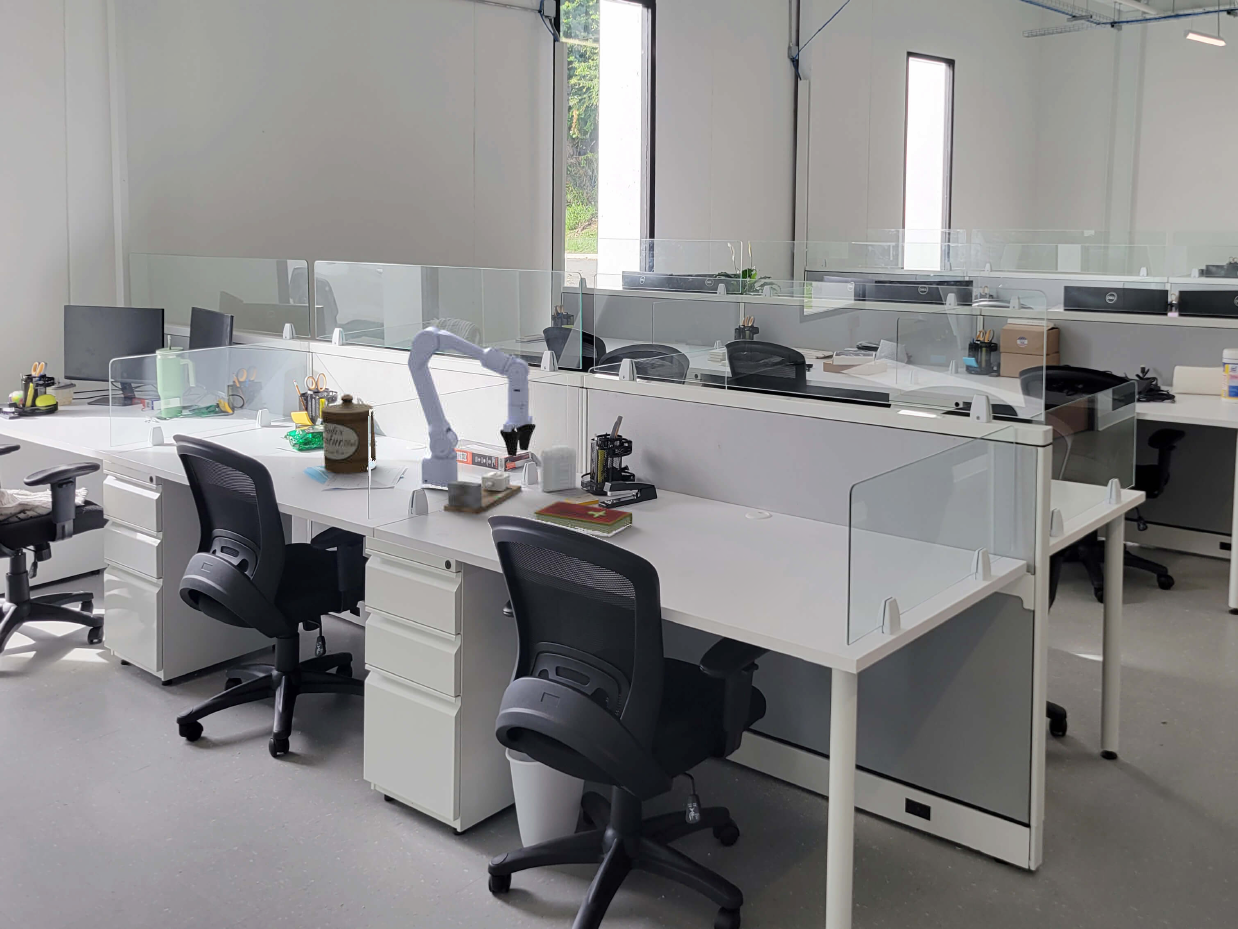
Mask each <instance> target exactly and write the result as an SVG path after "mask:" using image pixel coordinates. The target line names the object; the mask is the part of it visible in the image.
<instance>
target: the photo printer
mask: <svg viewBox="0 0 1238 929" xmlns="http://www.w3.org/2000/svg"><path fill="white" fill-rule="evenodd" d="M576 473H577V451H576V449H575V447H572V446H570V445H565V444H558V445H554V446H550V447H548V448H544V449H543V450H542V451H541V453H540V489H541V491H542V492H545V493H547V492H548V493H549V492H554V491H562V490H570V489H575V488H576V487H577V485H576V484H577V483H576V482H577V480H576V479H577V474H576Z"/></svg>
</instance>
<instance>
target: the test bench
mask: <svg viewBox="0 0 1238 929" xmlns="http://www.w3.org/2000/svg"><path fill="white" fill-rule="evenodd" d="M509 488H512V489H505V490H503V491H495V490H486V489H482V482H481V483H480V482H472V481H464V480H458V481H455V480H453V481H451V482H449V483H448V491H447V502H448V503H447V504H445V505H443V510H444V511H448V512H454V513H455V512H456V513H465V514H471V515H474V514H475V515H481V514H482V513H484V512H485V511H488V510H489V509H491V508H492V507H495V506H496V505H498V504H500V503H502V502H503V501H506V500H507V499H508V498H510V497H512V496H514V495H516V494H517V493H519V492H521V491H522V485H519V484H518V485H517V484H510V487H509Z"/></svg>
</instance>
